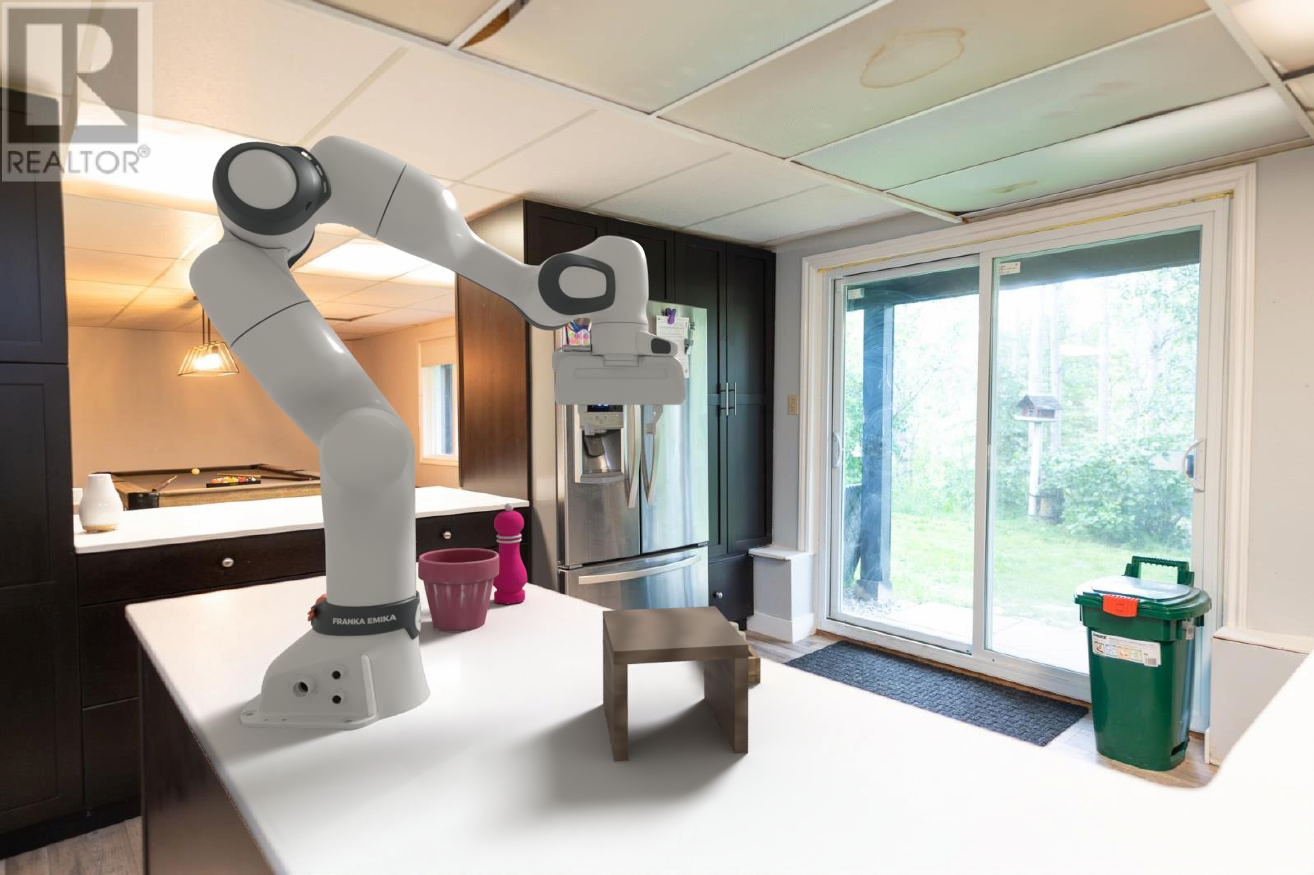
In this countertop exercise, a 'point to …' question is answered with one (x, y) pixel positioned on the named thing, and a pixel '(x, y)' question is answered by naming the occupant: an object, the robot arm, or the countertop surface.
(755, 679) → the teak tray
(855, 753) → the countertop surface
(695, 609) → the brown wooden side table
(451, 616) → the plant pot
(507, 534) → the pepper mill
